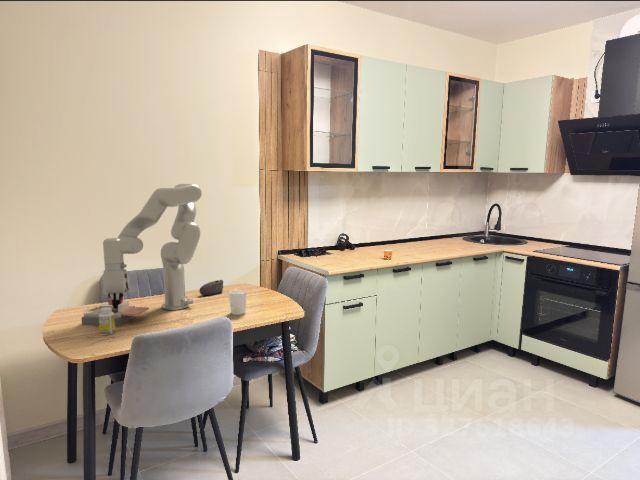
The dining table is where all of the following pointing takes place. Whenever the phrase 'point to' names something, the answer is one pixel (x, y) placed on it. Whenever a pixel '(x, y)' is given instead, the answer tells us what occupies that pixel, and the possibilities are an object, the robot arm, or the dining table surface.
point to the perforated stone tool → (212, 288)
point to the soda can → (112, 302)
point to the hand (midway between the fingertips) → (117, 307)
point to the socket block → (93, 317)
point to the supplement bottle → (106, 321)
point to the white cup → (237, 302)
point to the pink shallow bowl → (130, 310)
